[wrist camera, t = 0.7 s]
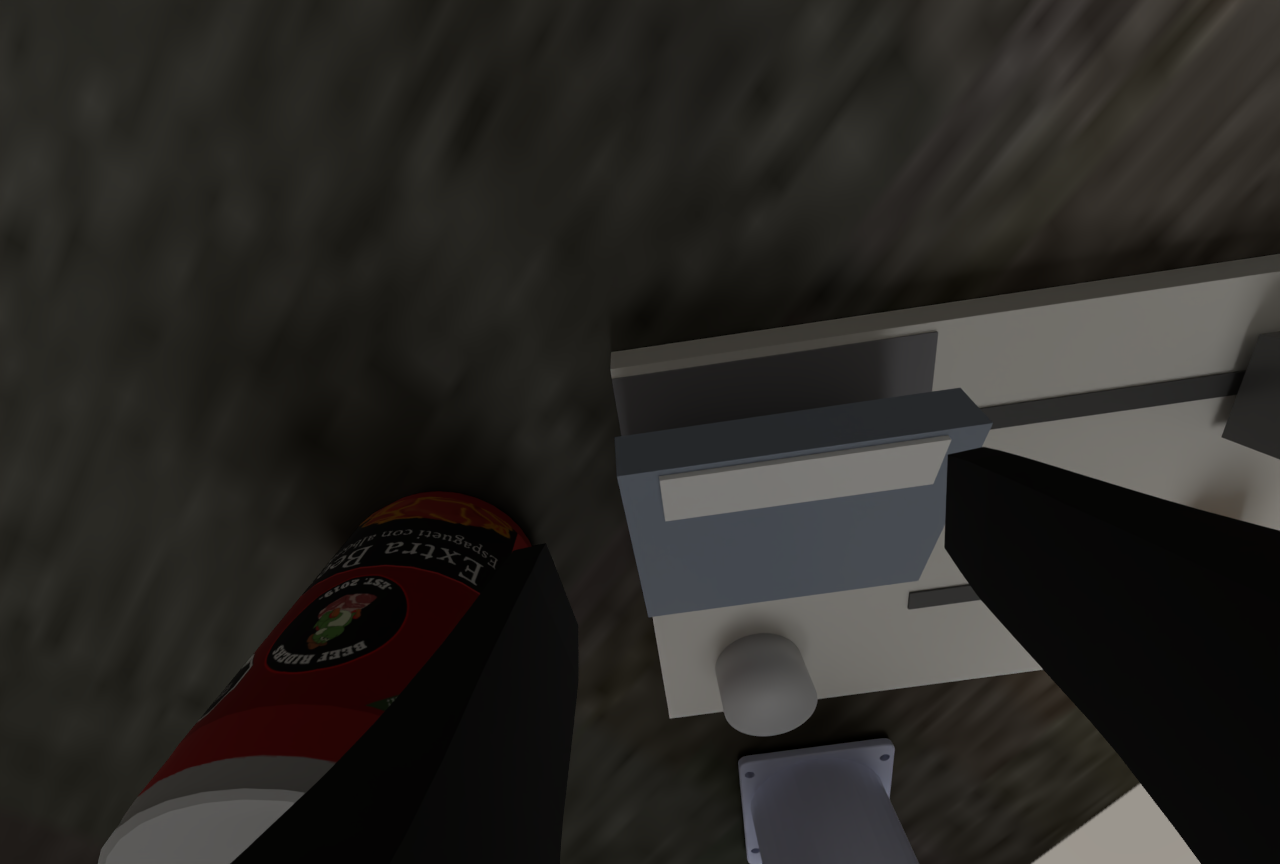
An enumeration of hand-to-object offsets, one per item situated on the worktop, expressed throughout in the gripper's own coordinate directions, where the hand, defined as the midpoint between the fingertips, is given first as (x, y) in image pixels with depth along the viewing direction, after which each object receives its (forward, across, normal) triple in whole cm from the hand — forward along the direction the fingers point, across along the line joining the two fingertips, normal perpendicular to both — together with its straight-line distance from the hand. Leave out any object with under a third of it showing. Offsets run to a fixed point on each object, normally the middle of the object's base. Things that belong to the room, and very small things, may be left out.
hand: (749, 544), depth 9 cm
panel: (+9, -9, +8) cm, 15 cm away
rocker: (+5, -2, +3) cm, 6 cm away
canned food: (+10, +11, +6) cm, 16 cm away
